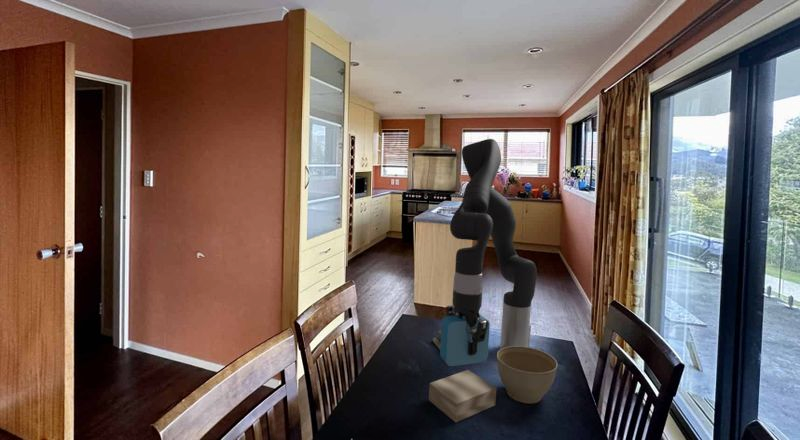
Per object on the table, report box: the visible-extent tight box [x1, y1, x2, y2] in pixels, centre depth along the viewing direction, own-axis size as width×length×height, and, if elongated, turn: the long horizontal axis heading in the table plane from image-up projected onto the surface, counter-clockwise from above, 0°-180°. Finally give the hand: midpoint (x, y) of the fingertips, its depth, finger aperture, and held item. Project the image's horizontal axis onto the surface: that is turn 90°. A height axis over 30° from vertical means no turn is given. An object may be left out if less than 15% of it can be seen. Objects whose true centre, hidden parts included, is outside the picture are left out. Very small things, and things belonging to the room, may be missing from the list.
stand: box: [428, 369, 497, 423], centre depth 107 cm, size 14×11×5 cm
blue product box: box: [439, 313, 491, 367], centre depth 105 cm, size 12×4×12 cm, turn 108°
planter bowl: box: [496, 346, 558, 404], centre depth 112 cm, size 16×16×11 cm
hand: (464, 349), depth 105 cm, fingers closed on blue product box, 5 cm apart
